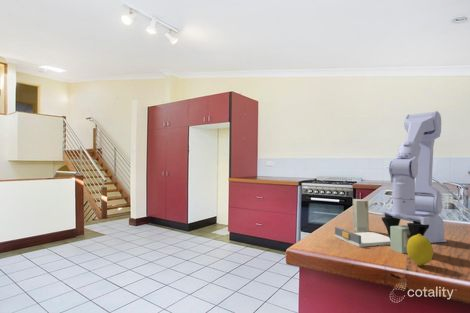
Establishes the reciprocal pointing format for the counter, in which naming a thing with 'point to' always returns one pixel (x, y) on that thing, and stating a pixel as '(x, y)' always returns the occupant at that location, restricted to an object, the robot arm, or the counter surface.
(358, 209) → the skincare box
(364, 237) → the shelf board
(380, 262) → the counter surface
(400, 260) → the counter surface
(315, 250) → the counter surface
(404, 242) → the carton
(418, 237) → the lemon
